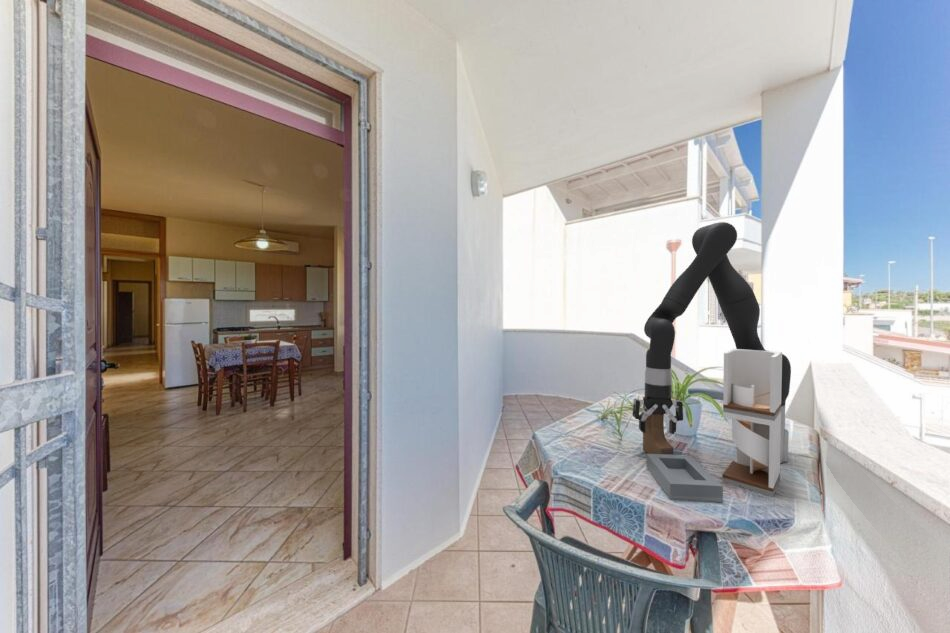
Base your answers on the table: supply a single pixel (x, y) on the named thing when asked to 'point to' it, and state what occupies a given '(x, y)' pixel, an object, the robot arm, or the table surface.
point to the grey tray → (684, 478)
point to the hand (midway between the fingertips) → (657, 432)
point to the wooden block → (655, 436)
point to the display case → (754, 417)
